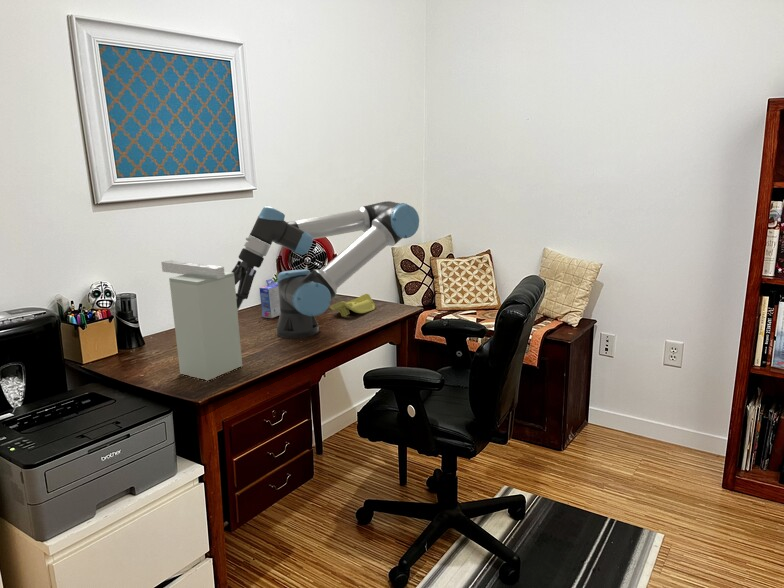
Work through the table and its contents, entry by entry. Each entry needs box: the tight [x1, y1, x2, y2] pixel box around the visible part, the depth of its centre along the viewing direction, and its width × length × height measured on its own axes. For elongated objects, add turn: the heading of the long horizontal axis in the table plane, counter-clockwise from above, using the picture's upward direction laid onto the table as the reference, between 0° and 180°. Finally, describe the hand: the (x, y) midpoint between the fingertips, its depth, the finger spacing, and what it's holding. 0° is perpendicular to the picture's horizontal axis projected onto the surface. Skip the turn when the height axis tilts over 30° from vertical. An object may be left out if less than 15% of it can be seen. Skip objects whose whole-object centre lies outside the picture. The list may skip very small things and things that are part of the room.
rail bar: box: [161, 259, 225, 279], centre depth 186 cm, size 24×3×3 cm, turn 58°
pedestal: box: [168, 271, 243, 380], centre depth 188 cm, size 12×14×30 cm
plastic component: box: [329, 293, 376, 318], centre depth 251 cm, size 20×7×10 cm
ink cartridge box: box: [259, 278, 280, 319], centre depth 250 cm, size 10×6×14 cm, turn 149°
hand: (224, 311), depth 200 cm, fingers open, 13 cm apart
